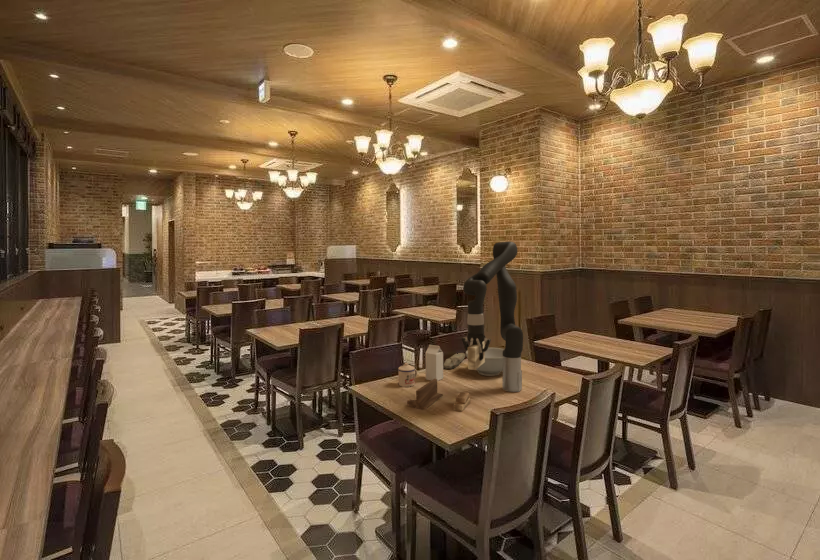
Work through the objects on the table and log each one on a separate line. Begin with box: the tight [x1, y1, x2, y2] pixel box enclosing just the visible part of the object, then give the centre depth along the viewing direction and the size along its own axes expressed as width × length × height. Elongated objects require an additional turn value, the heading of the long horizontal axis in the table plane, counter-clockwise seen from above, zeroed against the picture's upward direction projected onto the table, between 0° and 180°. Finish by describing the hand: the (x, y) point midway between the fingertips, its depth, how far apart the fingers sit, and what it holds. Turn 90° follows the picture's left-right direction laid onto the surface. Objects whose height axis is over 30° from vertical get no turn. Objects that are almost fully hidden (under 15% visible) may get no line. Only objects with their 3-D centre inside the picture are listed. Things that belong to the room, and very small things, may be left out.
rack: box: [406, 379, 444, 411], centre depth 208 cm, size 9×21×8 cm, turn 153°
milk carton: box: [424, 344, 444, 382], centre depth 243 cm, size 7×7×19 cm
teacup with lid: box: [397, 362, 418, 388], centre depth 234 cm, size 12×9×12 cm
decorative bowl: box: [465, 346, 505, 377], centre depth 253 cm, size 27×27×12 cm
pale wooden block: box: [467, 340, 486, 371], centre depth 202 cm, size 4×14×10 cm, turn 153°
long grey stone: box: [443, 352, 466, 370], centre depth 278 cm, size 35×5×10 cm
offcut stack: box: [453, 391, 471, 412], centre depth 200 cm, size 5×11×5 cm, turn 153°
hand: (476, 359), depth 203 cm, fingers closed on pale wooden block, 3 cm apart
